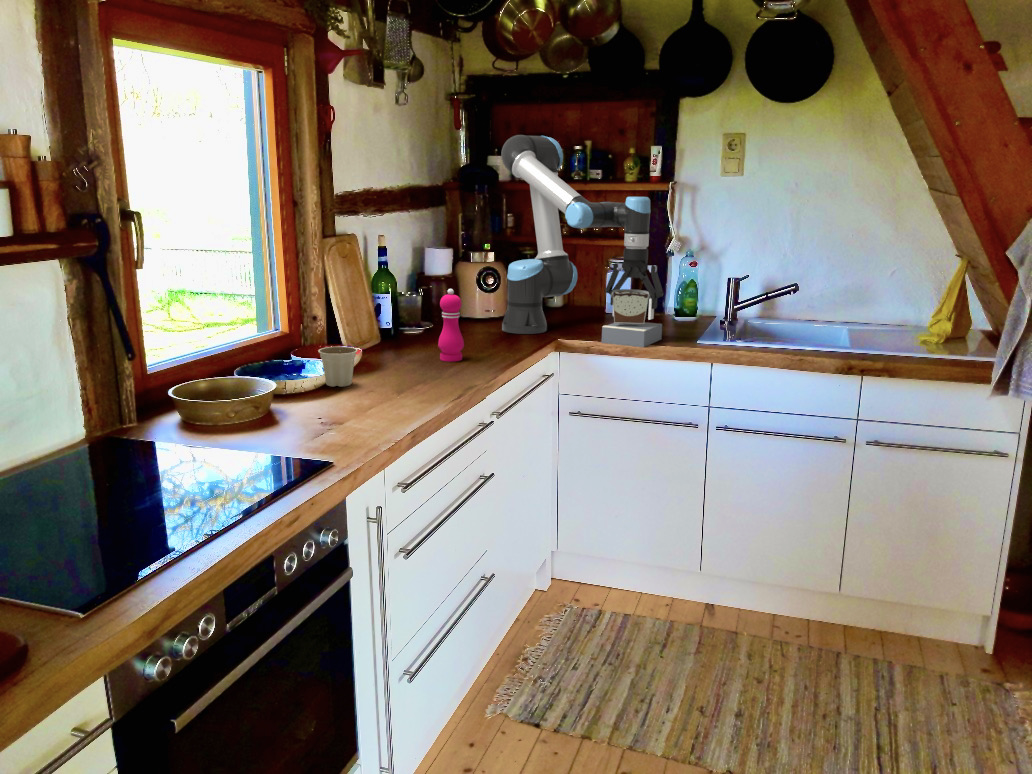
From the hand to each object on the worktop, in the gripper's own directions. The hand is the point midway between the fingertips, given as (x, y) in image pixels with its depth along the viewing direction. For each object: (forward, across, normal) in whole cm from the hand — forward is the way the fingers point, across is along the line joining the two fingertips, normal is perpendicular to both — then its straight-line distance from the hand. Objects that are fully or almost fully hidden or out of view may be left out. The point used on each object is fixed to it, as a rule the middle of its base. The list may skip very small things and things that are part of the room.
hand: (632, 317), depth 263 cm
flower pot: (+8, -40, -93) cm, 101 cm away
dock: (+8, 0, 0) cm, 8 cm away
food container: (+2, -1, 0) cm, 2 cm away
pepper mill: (+8, -33, -54) cm, 64 cm away
